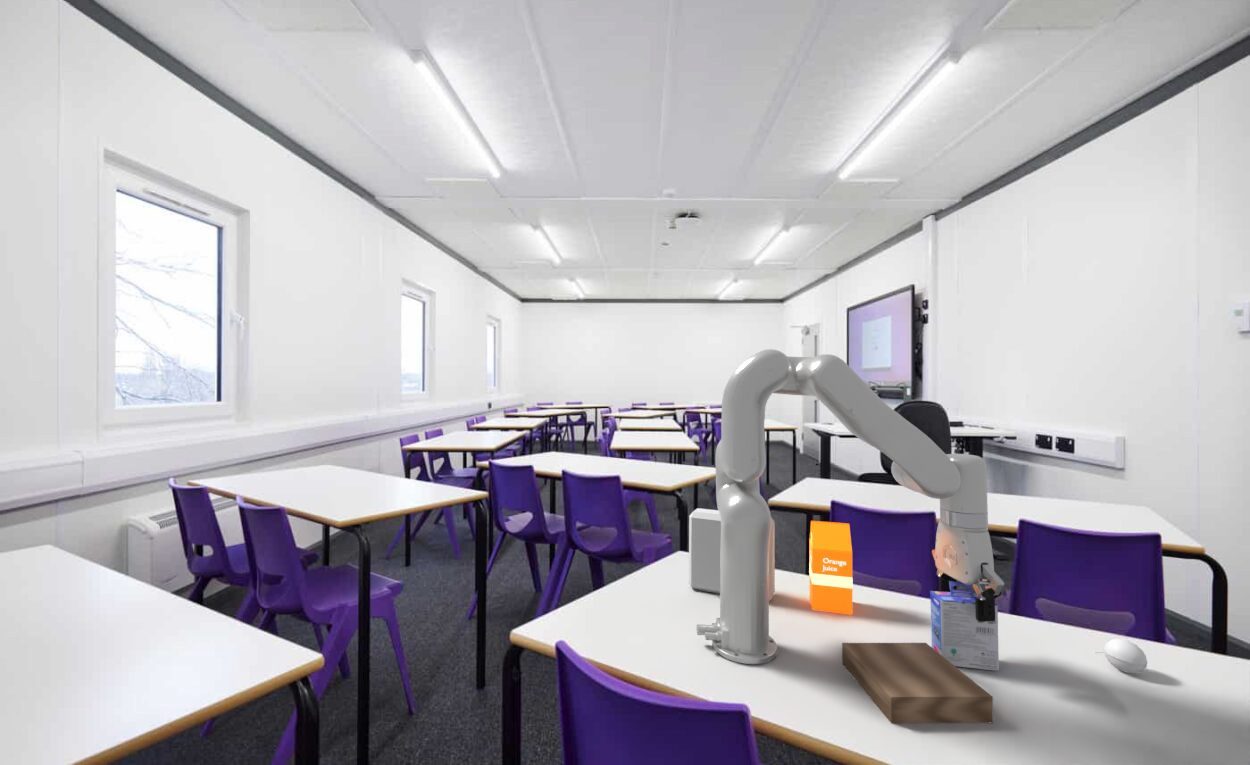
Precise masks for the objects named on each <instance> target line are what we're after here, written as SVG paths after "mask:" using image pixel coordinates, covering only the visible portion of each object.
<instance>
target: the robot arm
mask: <svg viewBox="0 0 1250 765" xmlns="http://www.w3.org/2000/svg"><path fill="white" fill-rule="evenodd" d="M772 394H778V395H791V396H793V395H794V396H806V397H807V396H808V397H811V396H812V397H816V398H817V399H818V400H819V401H820V402H821V403H822V404H823V406H825V407H826V408H827V409H828V410H829V411H830V412H831V413H832V414H833V415H834V416H835V417H836V418H837V419H838V420H839V422H840V423H841V424H842V425H843V426H844V428H846V430H848V431H849V432H850V433H851V434H852V435H853V436H855V437H857V438H858V439H859V440H861V441H862V442H864V443H866V444H868V445H869V446H870V447H873V448H875V449H877V450H878V451H879V452H881V453H882V454H884V455H885V456H887V457H888V458H889V459H890V460H892V463H891V466H890V470H891V475H892V477H893V478H894V480H895V481H896V482H897V483H898V484H899V485H901V486H902V487H904V488H905V489H908V490H911V491H913V492H916V493H919V494H921V495H924V496H926V497H929V498H931V499H935V500H937V499H938V500H939V518H940V519H939V521H938V524H937V528H936V529H937V530H936V535H935V548H934V549H932V550H931V554H932V557H933V560H934V565H935V568H936V570H937V571H936V575H937V576H938V586H939V587H938V592H950V586H949V581H955V582H961V583H963V584H965V585H970V586H972V588H973V590H974V591H975V594H977V596H978V598H975V610H976V620H978V621H980V622H981V621H995V603H996V601H998V599H999V597H1001V595H1002V592H1003V589H1004V587H1005V582H1004V580H1002V578H1001V577H1000V576H999V574H997V573H996V572H995V567H994V566H995V565H994V563H995V562H994V555H993V548H992V547H993V545H992V541H991V540H992V539H991V536H990V533H989V532H990V531H989V524H988V523H989V518H988V517H989V516H988V515H989V514H988V511H989V510H988V479H987V478H988V476H987V474H988V473H987V472H988V470H987V463H986V461H985V459H984V458H983V457H981V456H980V455H974V454H969V453H968V454H967V453H948V454H947V453H945V452H944V451H943V449H941V448H940V447H939V446H938V445H937V444H936V443H935V442H934V441H933V440H932V438H930V437H929V436H928V435H927V434H926V433H925V432H923V431H922V430H921V429H919V428H918V427H917V426H915V425H914V424H913V423H911V422H910V421H909V420H907V419H906V418H904V417H903V416H902V414H900V413H898V412H897V411H896V410H894V409H893V408H892V407H890V406H889V405H888V404H886V403H887V402H884V400H882V398H880V396H879V395H878V394H876V392H875V391H874V390H873V389H872V388H871V387H870V386H869V385H868V384H867V383H866V382H865V381H864V380H863V379H862V378H861V377H860V376H859V375H858V374H857V373H856V372H855V371H854V370H853V369H852V368H851V366H849V364H847V362H846V361H844V360H843V359H842V358H840V357H839V356H837V355H834V354H820V355H816V356H808V357H807V356H788V355H786V354H785V353H783V352H782V351H780V350H777V349H773V348H772V349H763V350H761V351H759V352H756V353H755V354H753V355H751V356H750V357H748V358H747V359H746V360H744V361H743V362H742V363H741V364H739V366H738V367H737V368H736V369H735V370H734V372H733V373H732V374H731V375H730V377H729V379H728V380H727V383H726V385H725V388H724V389H723V394H722V400H721V424H720V429H721V433H720V434H721V439H720V441H719V442H718V443H717V445H716V449H715V457H714V458H715V461H714V462H715V497H716V498H715V499H716V506H717V510H718V511H719V514H720V517H721V544H720V594H719V599H720V600H719V617H716V618H715V619H716V621H715V622H711V624H696V635H697V636H704V640H705V641H711V643H712V648H714V651H715V652H716V653H718V654H719V655H721V656H722V657H724V658H725V659H727V660H730V661H733V662H736V663H739V664H745V665H746V664H747V665H759V664H760V665H761V664H765V663H767V662H770V661H772V660H774V659H775V657H776V656H777V653H778V645H777V642H776V641H775V639H773V638H772V637H771V636H770V618H769V617H770V601H769V544H770V535H771V517H772V514H771V510H770V507H769V505H768V503H767V501H766V500H765V498H764V497H763V496H762V495H761V493H760V491H761V490H760V477H761V476H762V475H763V473H764V472H765V468H766V465H767V455H766V454H767V453H766V442H765V441H766V438H765V416H766V415H765V413H766V407H767V403H768V400H769V399H770V397H771V395H772ZM982 587H984V588H985V590H984V591H983V589H982ZM953 589H955V590H958V588H957V586H954V587H953Z"/></svg>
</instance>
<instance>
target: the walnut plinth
mask: <svg viewBox="0 0 1250 765" xmlns="http://www.w3.org/2000/svg"><path fill="white" fill-rule="evenodd" d="M841 645H842V646H841V647H842V648H841V651H842V652H841V655H842V656H841V657H842V658H841V660H842V661H841V665H842V666H843V667H844V668H845V669H846V670H847V672H848V673H849V675H851V677H852V678H853V679H854V680H855V681H856V683H857V684H858V685H859V686H860V688H861V689H862V690H863V691H864V692H865V694H867V695H868V697H869V698H870V700H871V701H872V702H873V703H874V704H875V705H876V707H877V708H878V709H879V710H880V711H881V713H882V714H883V715H884V716H885V717H886V719H887V720H888V721H889V722H890V724H949V723H950V724H953V723H955V724H961V723H962V724H971V723H972V724H973V723H975V724H978V723H982V724H983V723H984V724H985V723H986V724H987V723H988V724H989V722H991V723H992V724H993V722H994V720H993V719H994V718H993V717H994V716H993V715H994V714H993V709H994V708H993V701H994V700H993V695H991V694H990V693H989V692H988V691H986V690H985V689H983V687H981V686H980V685H979V684H978V683H977V682H975V681H974V680H973V679H971V677H969V676H968V675H967V674H965V673H964V672H963V671H961V669H959V668H958V666H954V665H953V664H952V663H950V662H949V661H948V660H947V659H945V658H944V657H943V656H942V655H940V654H939V653H938V652H937V651H936V650H934V649H933V648H932V645H929V644H928V643H927V642H841Z"/></svg>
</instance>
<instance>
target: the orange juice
mask: <svg viewBox="0 0 1250 765" xmlns="http://www.w3.org/2000/svg"><path fill="white" fill-rule="evenodd" d="M808 540H809V541H808V542H809V548H808V549H809V563H808V564H809V565H808V566H809V568H808V569H809V570H808V573H809V577H808V578H809V586H808V587H809V590H808V591H809V600H810V606H811V609H812V611H821V612H828V613H829V612H830V613H834V614H835V613H836V614H844V615H851V616H852V615H853V590H854V589H853V587H854V586H853V582H854V580H853V577H854V576H853V547H852V537H851V527H850V523H845V522H834V521H832V522H831V521H820V520H810V532H809V539H808Z"/></svg>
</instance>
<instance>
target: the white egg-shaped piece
mask: <svg viewBox="0 0 1250 765" xmlns="http://www.w3.org/2000/svg"><path fill="white" fill-rule="evenodd" d="M1103 653H1104V657H1105V658H1106V660H1107V661H1108V662H1109V663H1110V664H1111V665H1112V666H1113V667H1114V668H1116V669H1118V670H1119V671H1122V672H1123V673H1126V674H1139V673H1142V672H1144V671H1145V669H1146V668H1147V666H1148V658H1147V656H1146V654H1145V652H1144V651H1143V649H1141V648H1140V647H1139V646H1138V645H1137V644H1136V643H1134V642H1132V641H1129V640H1128V639H1124V638H1113V639H1110V640H1108V641H1107V642H1106V643H1105V644H1104V648H1103V651H1102V652H1095V654H1103Z"/></svg>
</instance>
